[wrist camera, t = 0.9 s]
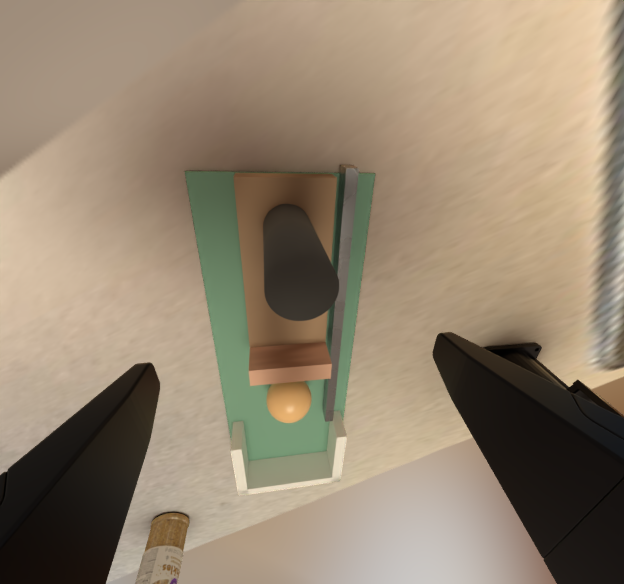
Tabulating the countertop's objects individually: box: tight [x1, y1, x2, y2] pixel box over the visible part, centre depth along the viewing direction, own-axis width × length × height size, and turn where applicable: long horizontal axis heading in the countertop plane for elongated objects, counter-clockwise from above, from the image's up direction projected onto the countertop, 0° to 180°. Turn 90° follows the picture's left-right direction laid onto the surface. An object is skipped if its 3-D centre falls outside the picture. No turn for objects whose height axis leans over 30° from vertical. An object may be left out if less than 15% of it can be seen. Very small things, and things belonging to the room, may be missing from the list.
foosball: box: [266, 381, 312, 423], centre depth 26 cm, size 4×4×4 cm
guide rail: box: [322, 165, 359, 422], centre depth 24 cm, size 1×24×2 cm, turn 179°
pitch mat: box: [185, 171, 375, 461], centre depth 27 cm, size 12×32×1 cm, turn 178°
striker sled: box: [233, 173, 339, 386], centre depth 18 cm, size 6×14×10 cm, turn 178°
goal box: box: [230, 410, 347, 496], centre depth 31 cm, size 11×8×3 cm
